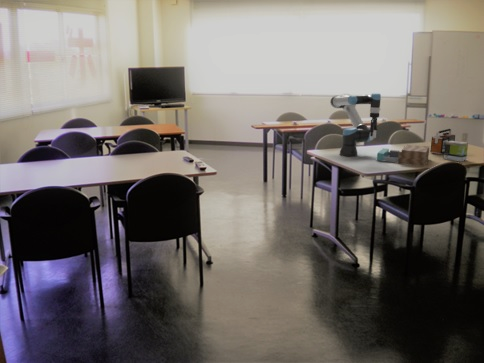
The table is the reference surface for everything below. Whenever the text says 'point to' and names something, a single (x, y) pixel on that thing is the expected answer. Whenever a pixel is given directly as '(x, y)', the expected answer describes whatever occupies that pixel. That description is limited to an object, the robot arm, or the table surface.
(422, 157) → the wooden drawer cabinet
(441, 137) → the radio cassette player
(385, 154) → the drawer
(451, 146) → the tea box
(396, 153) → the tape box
